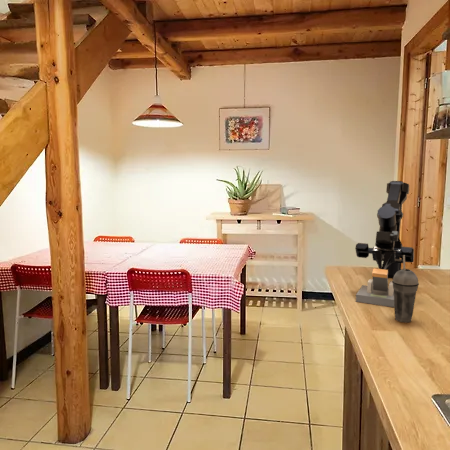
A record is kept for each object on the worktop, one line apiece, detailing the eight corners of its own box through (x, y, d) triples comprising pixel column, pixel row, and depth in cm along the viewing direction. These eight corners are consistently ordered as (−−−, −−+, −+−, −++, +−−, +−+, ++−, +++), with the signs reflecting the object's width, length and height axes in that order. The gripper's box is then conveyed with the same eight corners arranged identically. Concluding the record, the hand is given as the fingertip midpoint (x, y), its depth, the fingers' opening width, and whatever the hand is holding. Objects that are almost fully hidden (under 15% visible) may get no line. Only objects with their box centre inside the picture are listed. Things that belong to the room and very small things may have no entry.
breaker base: (362, 291, 149) (362, 274, 148) (403, 297, 142) (404, 279, 141) (355, 301, 138) (356, 283, 138) (400, 308, 132) (401, 289, 131)
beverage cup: (422, 322, 120) (426, 256, 117) (403, 326, 118) (407, 258, 115) (403, 313, 127) (406, 251, 124) (384, 317, 125) (388, 253, 121)
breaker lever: (374, 287, 142) (373, 268, 137) (388, 288, 140) (387, 269, 135) (373, 291, 140) (372, 272, 136) (387, 293, 138) (386, 274, 134)
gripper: (357, 220, 144) (349, 257, 136) (415, 223, 135) (410, 263, 127) (360, 238, 152) (353, 274, 144) (415, 242, 143) (411, 281, 135)
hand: (380, 273), depth 137 cm, fingers closed, pressing on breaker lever
